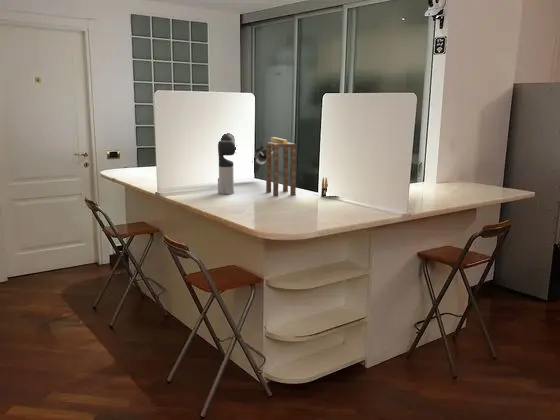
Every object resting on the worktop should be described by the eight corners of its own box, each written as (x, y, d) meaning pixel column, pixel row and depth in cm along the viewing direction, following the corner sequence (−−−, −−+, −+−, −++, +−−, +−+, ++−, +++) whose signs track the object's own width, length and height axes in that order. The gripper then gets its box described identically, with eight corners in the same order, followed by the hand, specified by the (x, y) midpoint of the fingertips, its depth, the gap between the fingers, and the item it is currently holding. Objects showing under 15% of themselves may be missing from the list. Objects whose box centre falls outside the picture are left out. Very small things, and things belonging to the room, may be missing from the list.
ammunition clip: (338, 196, 323) (339, 177, 321) (338, 197, 321) (339, 177, 319) (321, 195, 325) (321, 176, 322) (321, 196, 323) (321, 177, 321)
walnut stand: (266, 191, 337) (266, 142, 330) (286, 190, 341) (286, 141, 335) (274, 196, 322) (274, 144, 315) (295, 195, 327) (296, 143, 320)
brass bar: (270, 141, 339) (270, 137, 339) (274, 140, 340) (274, 137, 340) (283, 144, 317) (283, 140, 317) (287, 144, 318) (287, 140, 318)
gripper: (251, 152, 361) (257, 142, 346) (271, 151, 366) (277, 141, 351) (253, 162, 359) (259, 152, 344) (272, 161, 364) (279, 152, 349)
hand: (268, 147), depth 348 cm, fingers open, 8 cm apart
